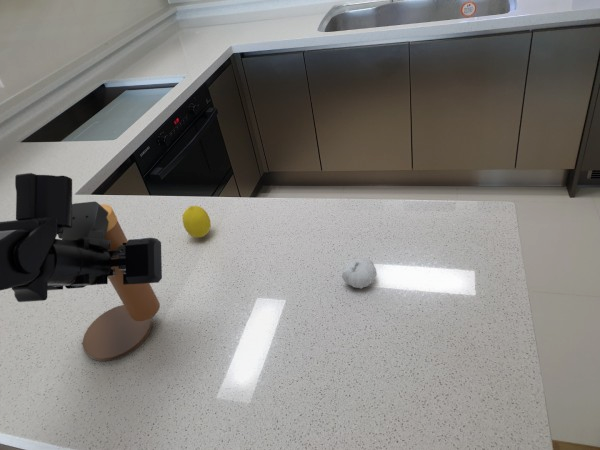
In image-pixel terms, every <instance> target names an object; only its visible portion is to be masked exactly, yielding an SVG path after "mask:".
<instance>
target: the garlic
mask: <svg viewBox="0 0 600 450" xmlns="http://www.w3.org/2000/svg"><path fill="white" fill-rule="evenodd" d="M377 273H378V272H377V268H376V266H375V264H374V262H373V260H371V259H368V258H365V257H356V258H352V259H351V260H350V261H348V263H347V264H345V267H344V271H343V272H342V273H341V274H342V275H341V277H342V280H343V281H344V283H345V284H346V285H348V286H352V287H353V288H357V289H363V288H366V287H369V286H370V285H371V284H373V283H374V282H375V281H374V280H375V279H376V278H377V275H378V274H377Z"/></svg>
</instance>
